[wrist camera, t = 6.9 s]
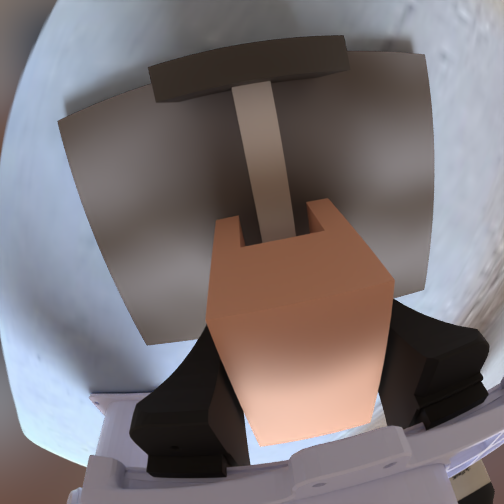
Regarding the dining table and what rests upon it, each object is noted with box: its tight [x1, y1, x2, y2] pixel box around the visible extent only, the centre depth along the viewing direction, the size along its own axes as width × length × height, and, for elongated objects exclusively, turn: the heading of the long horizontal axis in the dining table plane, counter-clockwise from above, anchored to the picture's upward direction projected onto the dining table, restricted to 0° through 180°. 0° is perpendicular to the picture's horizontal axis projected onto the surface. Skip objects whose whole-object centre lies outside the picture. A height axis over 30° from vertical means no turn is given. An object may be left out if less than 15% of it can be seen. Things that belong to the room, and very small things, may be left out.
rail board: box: [58, 35, 434, 345], centre depth 13 cm, size 14×18×5 cm
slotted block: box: [205, 198, 395, 447], centre depth 12 cm, size 8×5×6 cm, turn 11°
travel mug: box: [449, 459, 495, 504], centre depth 21 cm, size 8×8×18 cm
